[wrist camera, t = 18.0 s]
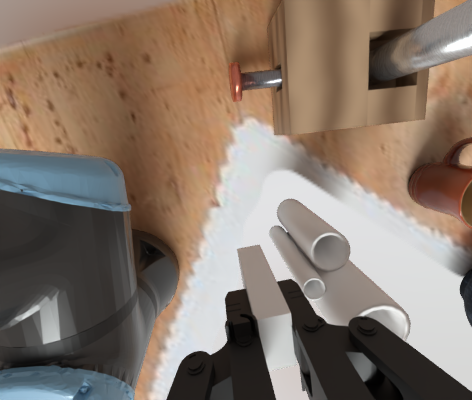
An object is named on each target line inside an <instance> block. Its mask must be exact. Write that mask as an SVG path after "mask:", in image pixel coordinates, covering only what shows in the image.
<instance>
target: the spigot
mask: <svg viewBox="0 0 472 400" xmlns="http://www.w3.org/2000/svg"><path fill="white" fill-rule="evenodd" d="M470 55H472V0H468V1H466V2H464V3H462V4H460V5H458V6H456V7H454V8H452V9H450V10H449V11H447V12H445V13H443V14H441V15H439V16H437V17H435V18H433V19H431V20H429V21H428V22H426V23H424V24H422V25H420V26H418V27H416V28H414V29H412V30H410V31H409V32H407V33H405V34H403V35H401V36H399V37H397V38H395V39H393V40H391V41H389V42H388V43H386V44H384V45H382V46H380V47H378V48H376V49H374V50H372V51H370V52H369V73H368V84H370V85H375V84H379V83H382V82H385V81H388V80H392V79H395V78H398V77H401V76H405V75H408V74H411V73H414V72H418V71H421V70H424V69H427V68H431V67H434V66H437V65H441V64H444V63H447V62H450V61H454V60H457V59H460V58H463V57H467V56H470Z"/></svg>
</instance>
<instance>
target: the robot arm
mask: <svg viewBox="0 0 472 400" xmlns="http://www.w3.org/2000/svg"><path fill="white" fill-rule="evenodd" d="M130 210H131V205H130V204H129V203H128V198H127V193H126V187H125V180H124V175H123V172H122V170H121V169H120V167H119V166H118V165H117V164H116V163H114V162H113V161H111V160H109V159H106V158H102V157H96V156H87V155H78V154H66V153H54V152H42V151H29V150H14V149H0V400H134V395H135V393H134V391H135V388H136V385H137V381H138V378H139V374H140V371H141V368H142V364H143V361H144V357H145V354H146V351H147V347H148V344H149V340H150V337H151V334H152V330H153V327H154V323H155V320H156V318H157V317H158V316H159V314H160V313H161V312H162V311H163V310H164V309H165V308H166V307H167V306H168V305H169V303H170V302H171V300H172V299H173V297H174V295H175V292H176V289H177V285H178V280H179V267H178V263H177V260H176V258H175V256H174V254H173V252H172V251H171V249H170V248H169V247H168V246H167V245H166V244H165V243H164V242H163V241H161V240H160V239H158V238H157V237H155V236H153V235H151V234H149V233H146V232H142V231H138V230H132V229H131V218H130ZM237 251H238V257H239V263H240V269H241V275H242V280H243V286H244V289H242V290H236V291H231V292H228V294H227V296H226V298H225V304H226V314H227V321H226V323H225V329H226V335H227V343H226V344H225V346H224V347H223V348H222V349H220V350H219V351H217V352H216V353H214V354H212V355H209V354H208V353H207V352H203V351H197V352H193V353H191V354H189V355H188V356H186V357H185V358H184V359H183V360H182V362H181V364H180V365H179V368H178V370H177V373H176V376H175V378H174V381H173V384H172V386H171V389H170V392H169V394H168V397H167V399H166V400H276V398H275V394H274V390H273V386H272V382H271V378H270V375H269V371H273V370H278V369H282V368H287V367H291V366H296V365H297V362H296V358H297V361H298V363H299V366H300V374H301V383H302V390H303V391H305V389H306V391H307V394H308V397H309V399H310V400H472V392H471V391H470V390H468V389H467V388H466V387H465V386H463V385H462V384H461V383H459V382H458V381H457V380H455V379H454V378H453V377H451V376H450V375H449V374H447V373H446V372H445V371H443V370H442V369H441V368H439V367H438V366H437V365H435V364H434V363H433V362H432V361H430V360H429V359H428V358H426V357H425V356H424V355H422V354H421V353H420V352H418V351H417V350H416V349H414V348H413V347H412V346H410V345H409V344H408V343H406V342H405V341H404V340H402V339H401V338H400V337H399V336H397V335H396V334H395V333H393V332H392V331H391V330H389V329H388V328H387V327H385V326H384V325H383V324H381V323H380V322H379V321H377V320H375V319H373V318H370V317H367V316H358V317H354V318H352V319H351V320H350V321H349V324H348V326H339V325H332V324H328V323H327V322H326V321H325V320H324V319H323V318H321V317H320V316H318V315H316V313H315V311H314V310H313V308H312V306H311V305H310V303H309V301H308V300H307V298H306V296H305V295H304V293H303V291H302V290H301V288H300V286H299V285H298V283H296V282H295V281H293V280H292V279H289V280H283V281H278V282H277V281H276V279H275V277H274V275H273V273H272V271H271V269H270V266H269V264H268V262H267V260H266V258H265V255H264V253H263V251H262V249H261V247H260V245H255V246H250V247H245V248H240V249H237Z"/></svg>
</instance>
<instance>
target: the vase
mask: <svg viewBox="0 0 472 400" xmlns="http://www.w3.org/2000/svg"><path fill="white" fill-rule="evenodd" d="M277 215H278V219H279V221H280V222H281V223H282V225H283V226H284V227H285V228H286V230H287V231H288V232H287V233H286V232H285V230H284V229H283V228H282V227H280V226H274V227H272V228H271V230H270V232H269V235H270V238H271V239H272V241H273V243H274V245H275V246H276V248H277V250H278V251H279V253H280V255H281V257H282V259H283V260H284V262H285V264H286V265H287V267H288V269H289V271H290V272H291V274H292V275H293V278H294V279H295V281H296V283H298V285H299V286H300V288H301V290H302V291H303V293H304V295H305V296H306V298H307V299H309V300H312V301H314V303H315V304H316V306H317V308H318V309H319V311H320V312H321V314H322V316H323V317H324V319H325V321H326V322H327V323H328V324H332V325H339V326H348V324H349V321H350V320H351V319H352V318H354V317H358V316H367V317H370V318H373V319H375V320H377V321H379V322H380V323H381V324H383V325H384V326H385V327H387V328H388V329H389V330H391V331H392V332H393V333H395V334H396V335H397V336H399V337H400V338H401V339H402V340H404V341H406V339H407V337H408V335H409V333H410V320H409V316H408V314H407V313H406V312H405V311H404V310H403V308H402V307H400V306H399V305H398V304H397V303H396V302H395V301H394V300H393V299H392V298H391V297H389V296H388V295H387V294H386V293H385V292H384V291H383V290H381V288H379V287H378V286H377V285H376V284H375V283H374V282H373V281H372V280H371V279H369V278H368V277H367V276H366V275H365V274H364V273H363V272H362V271H361V270H360V269H358V268H357V267H356V266H355V265H354V264H353V263H352V262H351V261H350V260H349V255H350V245H349V243H348V241H347V239H346V238H345V237H344V236H343V235H342V234H341V233H340V232H338V231H337V230H336V229H334V228H333V227H332V226H330V225H329V224H328V223H326V222H325V221H324V220H322V219H321V218H320V217H318V216H317V215H316V214H315V213H313V212H312V211H311V210H309V209H308V208H307V207H305V206H304V205H303V204H301V203H300V202H298V201H297V200H294V199H287V200H284V201H283V202H282V203H280V205H279V207H278V210H277Z"/></svg>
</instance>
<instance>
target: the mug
mask: <svg viewBox="0 0 472 400" xmlns="http://www.w3.org/2000/svg"><path fill="white" fill-rule="evenodd" d="M471 144H472V137H470V138H466V139H463V140H461V141H459V142H457V143H456V144H455V145H454V146H453V147H452V148H451V149H450V150H449V152H448V153H447V154H446V156H445V157H444V160H443V162H435V163H428V164H425V165H423V166H421V167H420V168H419V169H417V170H416V171H415V172H414V174H413V175H412V177H411V179H410V182H409V194H410V197H411V198H412V199H413V200H414V201H415V202H416V203H418V204H419V205H421V206H423V207H425V208H428V209H432V210H435V211H438V212H441V213H445V214H448V215H451V216H453V217H455V218H457V219H458V220H460V221H461V222H462V223H464V224H465V225H466V226H468V227H469V228H472V166H466V165H462V164H460V163H459V156H460V153H461V151H462V150H463V149H464V148H465V147H466V146H468V145H471Z"/></svg>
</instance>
